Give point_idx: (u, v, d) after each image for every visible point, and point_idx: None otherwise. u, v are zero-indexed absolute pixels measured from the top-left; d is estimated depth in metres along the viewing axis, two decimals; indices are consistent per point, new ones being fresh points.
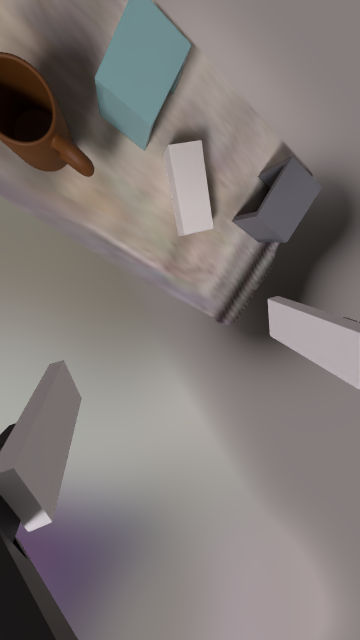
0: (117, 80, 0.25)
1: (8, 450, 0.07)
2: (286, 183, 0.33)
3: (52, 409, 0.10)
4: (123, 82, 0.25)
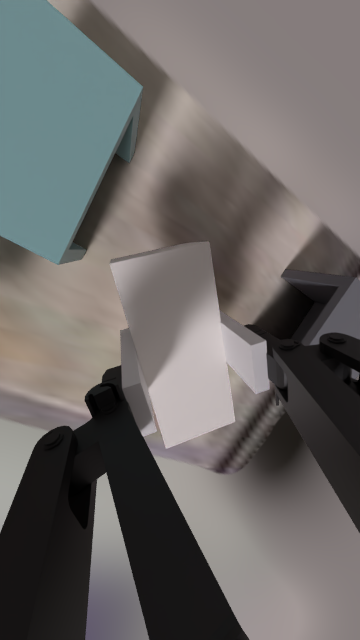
0: None
1: (128, 375, 0.10)
2: (340, 321, 0.18)
3: (138, 358, 0.12)
4: None
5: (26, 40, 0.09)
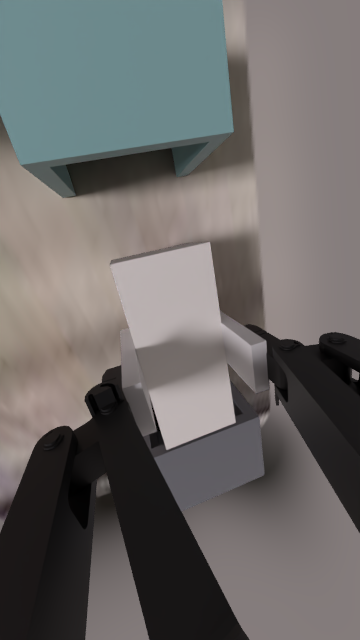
0: None
1: (128, 375, 0.10)
2: (223, 444, 0.17)
3: None
4: (9, 3, 0.08)
5: None
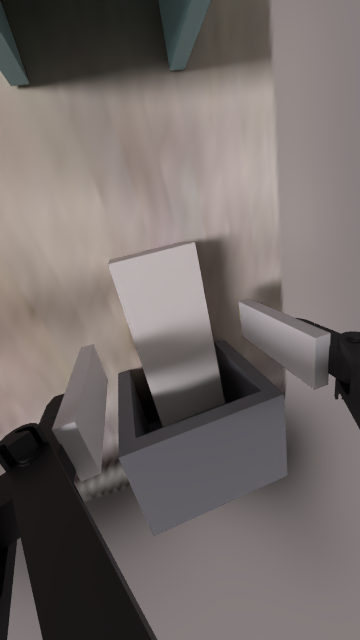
0: None
1: (65, 410, 0.08)
2: (235, 432, 0.13)
3: (91, 383, 0.11)
4: None
5: None
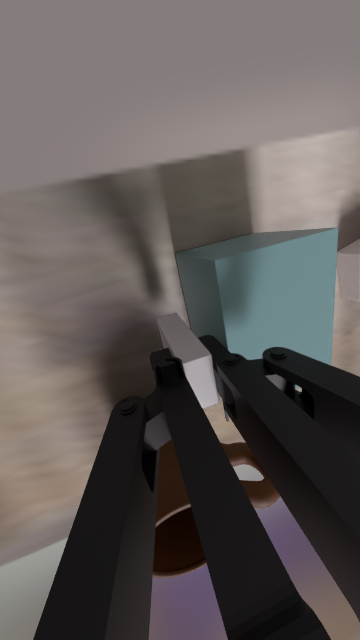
0: None
1: (181, 354, 0.10)
2: None
3: None
4: None
5: (264, 281, 0.11)
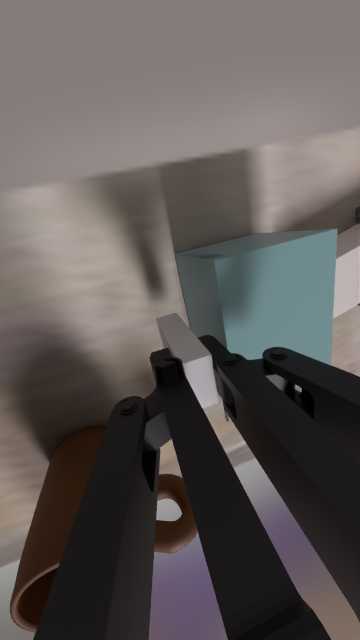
0: None
1: (181, 354, 0.10)
2: None
3: None
4: None
5: (264, 281, 0.11)
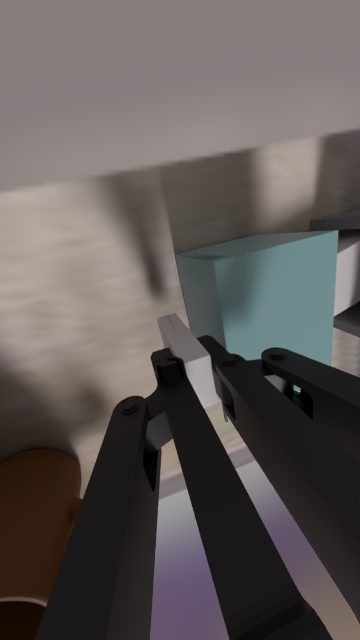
0: None
1: (182, 354, 0.10)
2: None
3: None
4: None
5: (264, 283, 0.11)
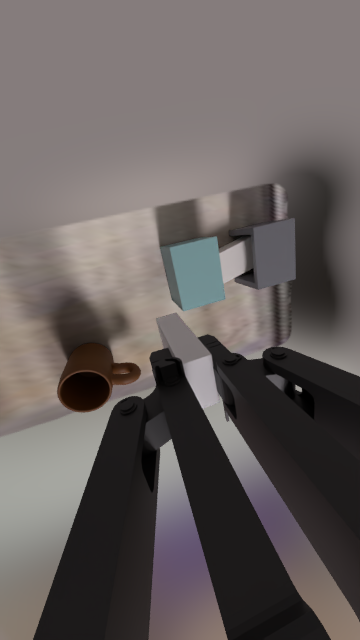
0: (194, 299, 0.34)
1: (181, 354, 0.10)
2: (263, 248, 0.34)
3: None
4: (197, 296, 0.34)
5: (189, 255, 0.31)
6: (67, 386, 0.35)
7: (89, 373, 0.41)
